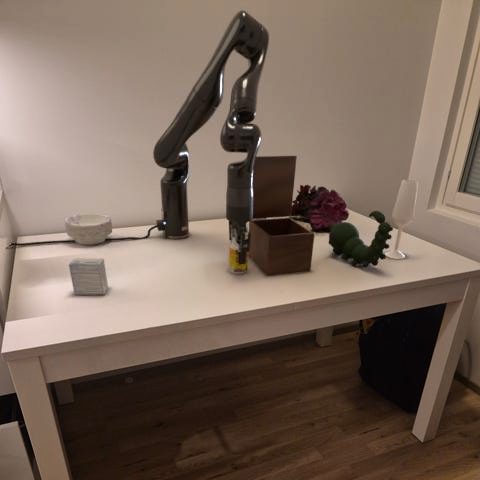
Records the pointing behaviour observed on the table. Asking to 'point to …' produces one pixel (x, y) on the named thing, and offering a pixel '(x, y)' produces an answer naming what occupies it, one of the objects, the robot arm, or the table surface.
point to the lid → (273, 186)
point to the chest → (280, 246)
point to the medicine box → (88, 276)
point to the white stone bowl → (88, 228)
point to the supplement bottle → (236, 259)
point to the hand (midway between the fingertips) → (238, 259)
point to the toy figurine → (360, 242)
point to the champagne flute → (403, 212)
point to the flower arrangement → (319, 208)
